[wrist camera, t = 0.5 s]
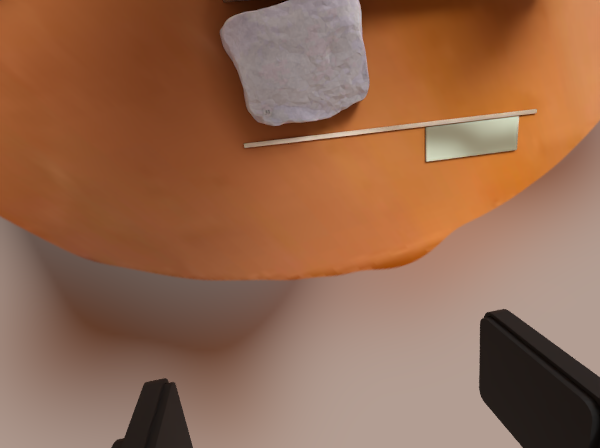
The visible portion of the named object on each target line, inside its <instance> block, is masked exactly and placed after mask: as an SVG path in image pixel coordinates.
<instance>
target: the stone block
mask: <svg viewBox="0 0 600 448" xmlns="http://www.w3.org/2000/svg"><path fill="white" fill-rule="evenodd" d="M220 36H221V40H222V45H223V47H224V49H225V51H226V52H227V54H228V55H229V57H230V59H231V60H232V61H233V63H234V66H235V67H236V69H237V71H238V74H239V77H240V80H241V83H242V86H243V89H244V97H245V103H246V107H247V110H248V112H249V113H251V115H252V116H253V118H254V119H255V120H256V121H258V122H259V123H263V124H266V125H272V126H278V125H282V124H285V123H294V122H295V123H303V122H311V121H317V120H322V119H327V118H330V117H332V116H334V115H336V114H337V113H339V112H340V111H341V110H344V109H347V108H348V107H349V106H350V105H352V104H354V103H357V102H359V101H361V100H363V99H364V98H365V97H366V95H367V92H368V89H369V75H368V70H367V58H366V52H365V47H364V42H363V38H362V12H361V6H360V3H359V0H288V1H285V2H283V3H280V4H277V5H274V6H270V7H267V8H262V9H259V10H255V11H248V12H243V13H240V14H236V15H234V16H232V17H230V18H229V19H227V20H226V22H225V24H224V25H223V27H222V28H221V30H220Z"/></svg>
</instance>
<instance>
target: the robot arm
mask: <svg viewBox="0 0 600 448" xmlns="http://www.w3.org/2000/svg"><path fill="white" fill-rule="evenodd" d="M479 390H480V394H481V397H482V399H483V401H484V402H485V403H486V405H487V406H488V407H489V408H490V409H491V410H492V411H493V413H494V414H495V415H496V416H497V418H498V419H499V420H500V421H501V422H502V423H503V425H504V426H505V427H506V428H507V429H508V430H509V432H510V433H511V434H512V435H513V436H514V438H515V439H516V440H517V441H518V442H519V443H520V445H521V446H522V447H523V448H600V377H598V376H597V375H596V374H595V373H593V372H592V371H590V370H589V369H588V368H586V367H585V366H584V365H582V364H581V363H580V362H578V361H577V360H575V359H574V358H573V357H571V356H570V355H569V354H567V353H566V352H564V351H563V350H562V349H560V348H559V347H558V346H556V345H555V344H553V343H552V342H551V341H549V340H548V339H547V338H545V337H544V336H543V335H541V334H540V333H538V332H537V331H536V330H534V329H533V328H532V327H530V326H529V325H527V324H526V323H525V322H523V321H522V320H521V319H519V318H518V317H516V316H515V315H514V314H512V313H511V312H509V311H508V310H506V309H502V310H497V311H492V312H487V313H486V314H485V316H484V318H483V319H481V322H480V376H479ZM112 448H193V447H192V443H191V439H190V435H189V432H188V428H187V424H186V421H185V417H184V414H183V410H182V406H181V403H180V399H179V395H178V392H177V388H176V385H175V383H174V382H171V383H169V382H168V380H167V379H166V378H165V379H159V380H154V381H150V382H146V383H145V384H144V386H143V388H142V391H141V394H140V397H139V399H138V402H137V405H136V407H135V410H134V413H133V416H132V419H131V421H130V424H129V427H128V429H127V432H126V435H125V438H123V439H119V440H117V441H115V442H114V444H113V446H112Z"/></svg>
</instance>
